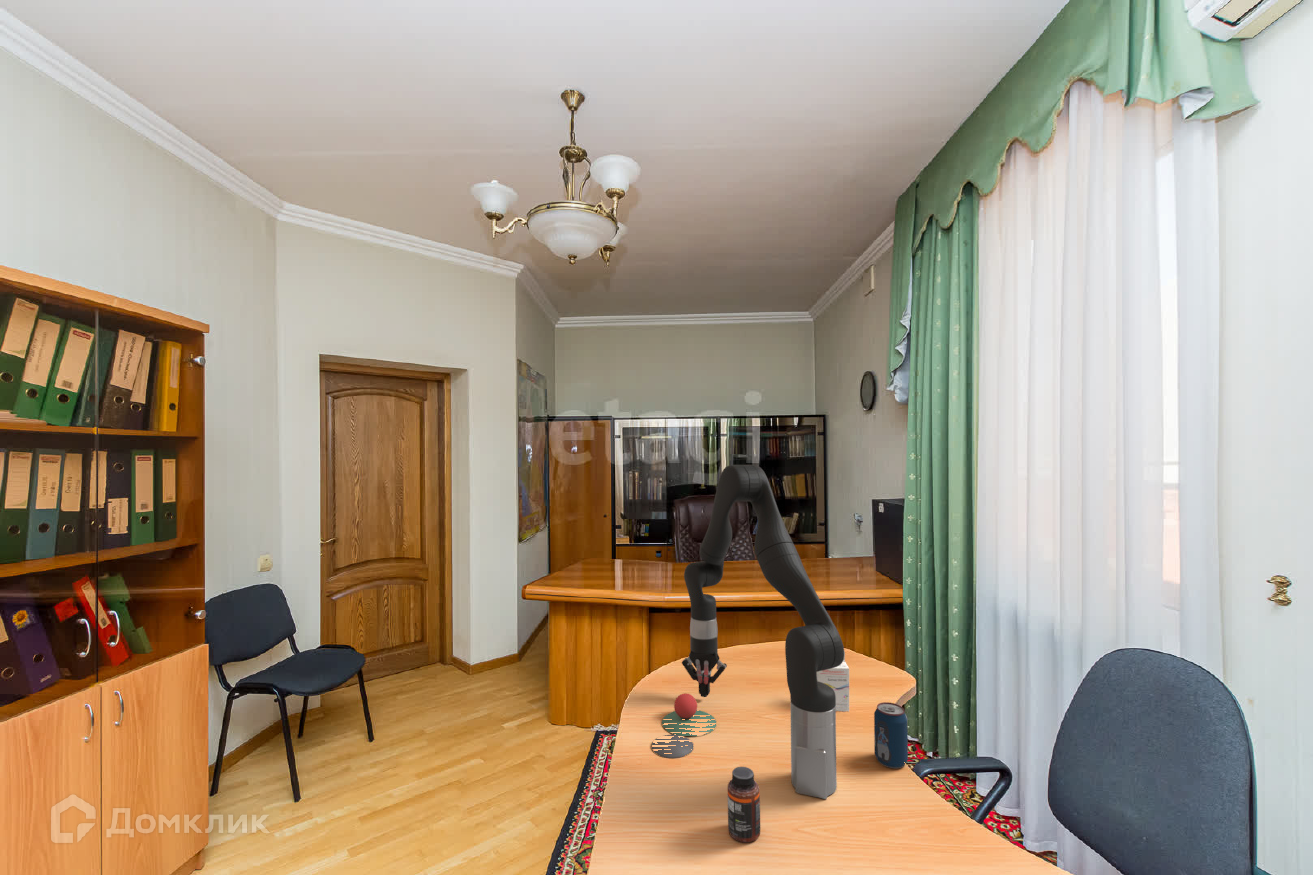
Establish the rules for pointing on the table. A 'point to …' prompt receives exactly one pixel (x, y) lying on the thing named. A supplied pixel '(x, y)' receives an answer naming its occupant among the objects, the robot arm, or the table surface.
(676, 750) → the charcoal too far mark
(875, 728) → the soda can
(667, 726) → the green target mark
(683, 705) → the ball
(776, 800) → the table surface
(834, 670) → the ink cartridge box
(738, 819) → the supplement bottle
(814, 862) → the table surface
